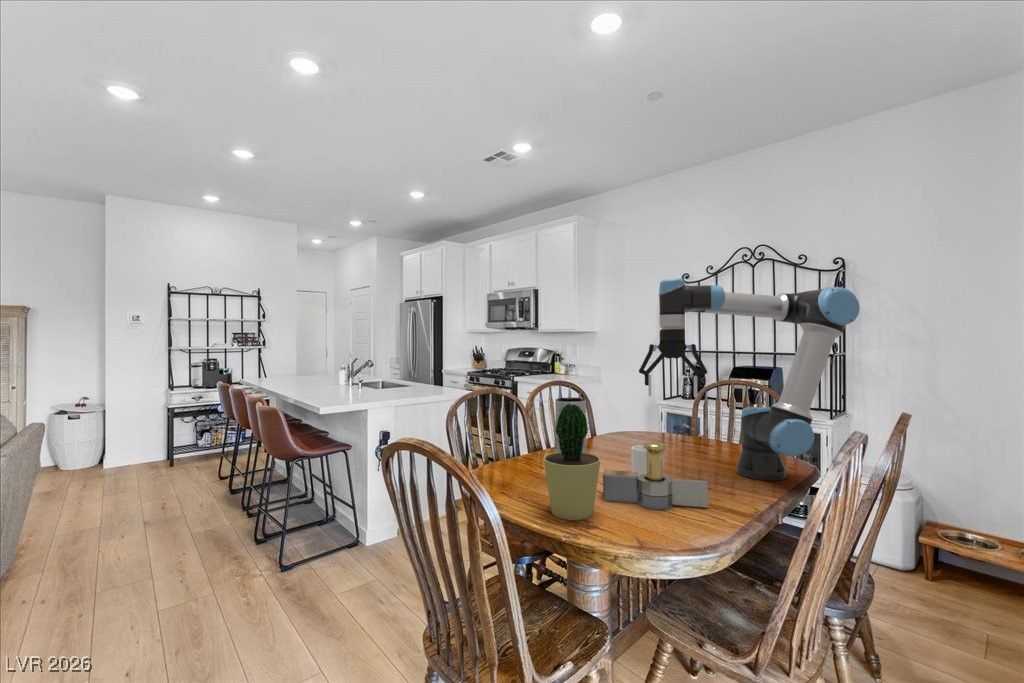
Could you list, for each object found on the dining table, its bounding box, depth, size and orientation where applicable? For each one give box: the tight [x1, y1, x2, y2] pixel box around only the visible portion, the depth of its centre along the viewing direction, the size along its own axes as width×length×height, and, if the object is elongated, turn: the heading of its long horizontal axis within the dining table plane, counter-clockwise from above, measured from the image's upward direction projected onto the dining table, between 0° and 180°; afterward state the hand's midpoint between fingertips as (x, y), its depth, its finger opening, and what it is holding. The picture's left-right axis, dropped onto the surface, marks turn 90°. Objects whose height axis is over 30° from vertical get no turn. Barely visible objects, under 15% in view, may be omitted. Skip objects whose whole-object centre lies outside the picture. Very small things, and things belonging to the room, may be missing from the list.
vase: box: [554, 397, 587, 453], centre depth 158 cm, size 10×10×27 cm
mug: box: [631, 444, 665, 476], centre depth 160 cm, size 12×8×10 cm
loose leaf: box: [638, 474, 709, 509], centre depth 135 cm, size 19×9×7 cm, turn 75°
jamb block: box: [602, 469, 638, 500], centre depth 141 cm, size 10×5×7 cm, turn 75°
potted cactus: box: [543, 403, 601, 521], centre depth 130 cm, size 15×15×30 cm
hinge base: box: [604, 475, 673, 511], centre depth 137 cm, size 19×9×7 cm, turn 75°
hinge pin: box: [643, 441, 666, 482], centre depth 136 cm, size 6×6×17 cm
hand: (672, 396), depth 149 cm, fingers open, 13 cm apart
